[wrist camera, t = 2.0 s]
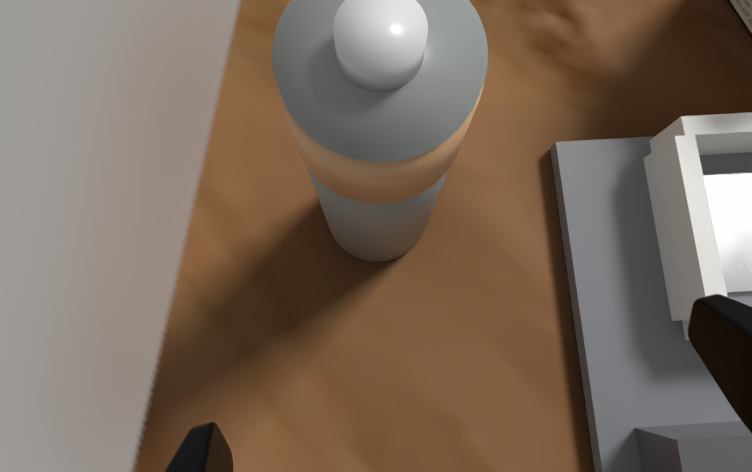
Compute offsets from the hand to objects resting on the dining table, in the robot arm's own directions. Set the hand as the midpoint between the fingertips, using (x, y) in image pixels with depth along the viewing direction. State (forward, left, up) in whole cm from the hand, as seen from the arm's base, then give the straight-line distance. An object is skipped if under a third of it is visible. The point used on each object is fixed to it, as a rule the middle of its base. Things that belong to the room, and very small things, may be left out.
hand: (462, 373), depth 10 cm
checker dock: (0, -14, -13) cm, 19 cm away
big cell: (+7, +1, -13) cm, 14 cm away
